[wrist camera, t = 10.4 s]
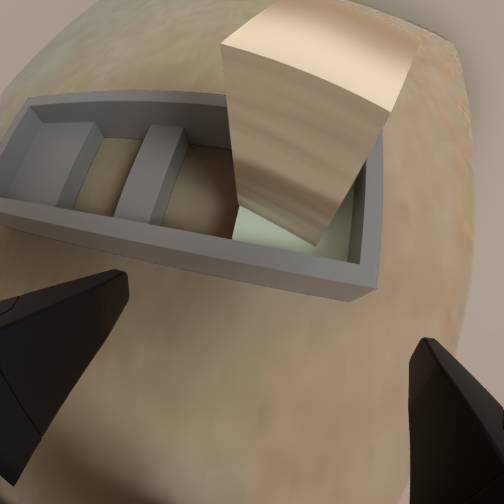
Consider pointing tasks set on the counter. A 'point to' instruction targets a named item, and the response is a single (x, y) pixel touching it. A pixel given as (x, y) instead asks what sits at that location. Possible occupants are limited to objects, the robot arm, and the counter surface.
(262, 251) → the box
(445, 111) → the counter surface
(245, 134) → the birch block
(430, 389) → the robot arm
